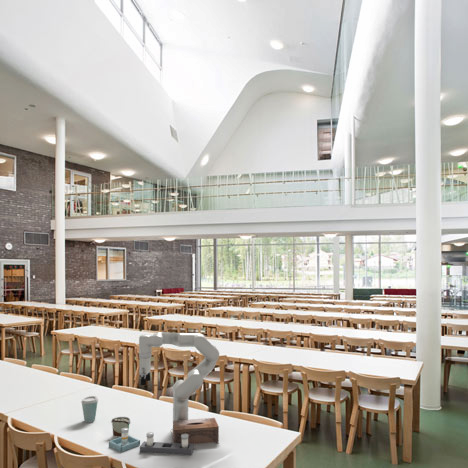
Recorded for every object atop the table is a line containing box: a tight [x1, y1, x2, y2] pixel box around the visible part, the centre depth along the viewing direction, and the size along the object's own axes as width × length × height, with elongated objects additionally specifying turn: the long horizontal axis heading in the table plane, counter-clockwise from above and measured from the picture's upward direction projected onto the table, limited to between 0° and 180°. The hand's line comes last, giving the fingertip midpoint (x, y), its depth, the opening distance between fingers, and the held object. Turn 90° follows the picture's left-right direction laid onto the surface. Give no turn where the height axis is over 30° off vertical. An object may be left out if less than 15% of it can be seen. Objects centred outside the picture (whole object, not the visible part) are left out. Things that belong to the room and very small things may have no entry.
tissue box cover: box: [172, 417, 220, 445], centre depth 253 cm, size 26×14×10 cm, turn 102°
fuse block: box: [139, 441, 195, 456], centre depth 236 cm, size 29×7×4 cm, turn 83°
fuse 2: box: [181, 434, 189, 448], centre depth 235 cm, size 4×4×9 cm
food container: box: [111, 416, 131, 438], centre depth 261 cm, size 12×6×10 cm, turn 74°
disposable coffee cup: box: [81, 395, 99, 423], centre depth 285 cm, size 11×11×15 cm
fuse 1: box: [146, 431, 155, 447], centre depth 238 cm, size 4×4×9 cm
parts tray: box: [108, 434, 141, 453], centre depth 244 cm, size 13×13×4 cm
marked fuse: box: [121, 428, 130, 446], centre depth 244 cm, size 4×4×9 cm
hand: (145, 382), depth 264 cm, fingers open, 9 cm apart
